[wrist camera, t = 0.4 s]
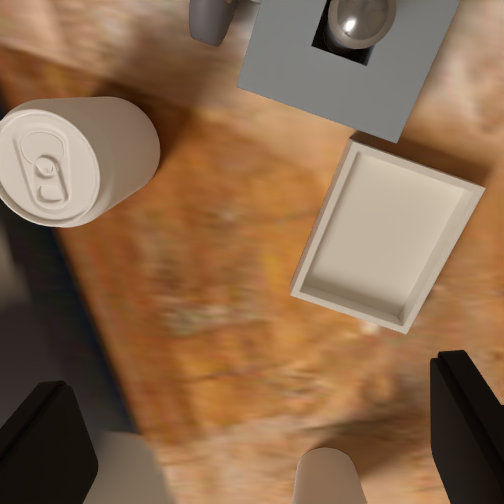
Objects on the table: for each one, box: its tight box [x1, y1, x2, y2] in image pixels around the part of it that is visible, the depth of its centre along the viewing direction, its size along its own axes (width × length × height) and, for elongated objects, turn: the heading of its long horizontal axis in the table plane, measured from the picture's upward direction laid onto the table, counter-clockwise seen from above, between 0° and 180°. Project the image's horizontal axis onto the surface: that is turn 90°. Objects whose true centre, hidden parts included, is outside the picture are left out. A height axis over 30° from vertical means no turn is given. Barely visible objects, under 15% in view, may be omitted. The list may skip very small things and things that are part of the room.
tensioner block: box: [189, 0, 461, 144], centre depth 29 cm, size 12×16×8 cm
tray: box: [290, 138, 485, 334], centre depth 37 cm, size 14×11×2 cm
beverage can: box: [0, 97, 160, 227], centre depth 32 cm, size 8×8×12 cm
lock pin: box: [324, 0, 397, 54], centre depth 28 cm, size 4×4×10 cm
